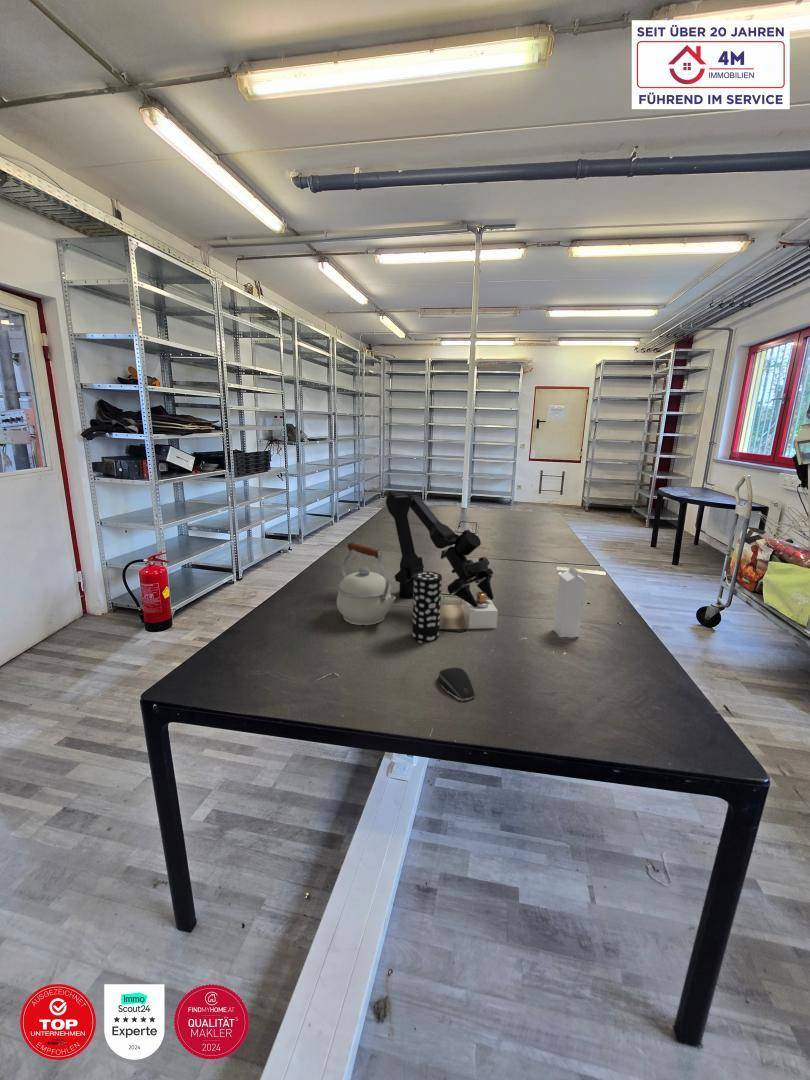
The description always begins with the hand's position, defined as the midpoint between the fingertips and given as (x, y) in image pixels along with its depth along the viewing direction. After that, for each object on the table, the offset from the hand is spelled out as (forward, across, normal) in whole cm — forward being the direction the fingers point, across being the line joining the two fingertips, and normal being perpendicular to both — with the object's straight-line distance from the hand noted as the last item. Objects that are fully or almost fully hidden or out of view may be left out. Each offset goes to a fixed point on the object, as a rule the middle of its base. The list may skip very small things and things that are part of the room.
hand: (484, 602), depth 143 cm
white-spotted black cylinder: (+1, -20, +11) cm, 23 cm away
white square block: (+4, 0, +6) cm, 7 cm away
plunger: (+3, 0, +5) cm, 6 cm away
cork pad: (0, 0, +12) cm, 12 cm away
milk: (+21, +14, -10) cm, 27 cm away
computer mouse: (+17, -34, -5) cm, 39 cm away
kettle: (-15, -25, +26) cm, 39 cm away
